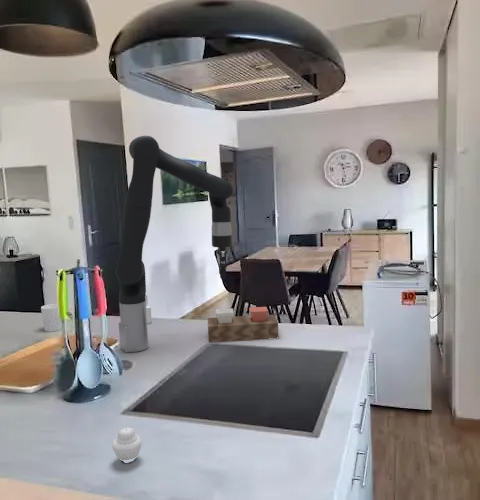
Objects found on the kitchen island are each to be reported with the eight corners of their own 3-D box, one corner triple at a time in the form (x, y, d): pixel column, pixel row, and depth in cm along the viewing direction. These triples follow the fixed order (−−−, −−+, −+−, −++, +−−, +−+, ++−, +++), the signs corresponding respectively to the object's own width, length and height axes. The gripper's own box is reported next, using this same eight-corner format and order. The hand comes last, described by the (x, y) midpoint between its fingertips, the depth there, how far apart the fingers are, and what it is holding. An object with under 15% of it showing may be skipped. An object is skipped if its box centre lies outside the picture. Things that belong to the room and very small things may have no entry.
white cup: (47, 333, 194) (45, 309, 192) (40, 329, 199) (38, 306, 198) (66, 329, 199) (64, 305, 198) (58, 325, 205) (56, 302, 203)
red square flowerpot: (251, 326, 179) (250, 311, 178) (249, 322, 186) (249, 307, 185) (268, 326, 180) (268, 311, 179) (266, 321, 186) (265, 306, 185)
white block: (216, 328, 178) (216, 313, 177) (216, 323, 185) (215, 309, 184) (234, 327, 179) (233, 312, 178) (233, 322, 185) (232, 308, 184)
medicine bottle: (131, 321, 207) (129, 294, 205) (147, 319, 210) (146, 292, 208) (135, 325, 201) (133, 298, 199) (151, 323, 203) (150, 295, 202)
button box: (208, 342, 176) (207, 326, 175) (208, 332, 188) (207, 317, 187) (278, 338, 178) (278, 322, 177) (273, 329, 190) (273, 314, 189)
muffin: (145, 450, 104) (143, 420, 103) (140, 467, 98) (138, 435, 97) (116, 452, 104) (114, 422, 103) (110, 468, 98) (107, 436, 97)
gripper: (233, 235, 172) (233, 279, 174) (230, 232, 186) (231, 272, 189) (212, 236, 172) (213, 280, 174) (211, 232, 186) (212, 273, 188)
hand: (222, 276), depth 181 cm, fingers open, 8 cm apart
